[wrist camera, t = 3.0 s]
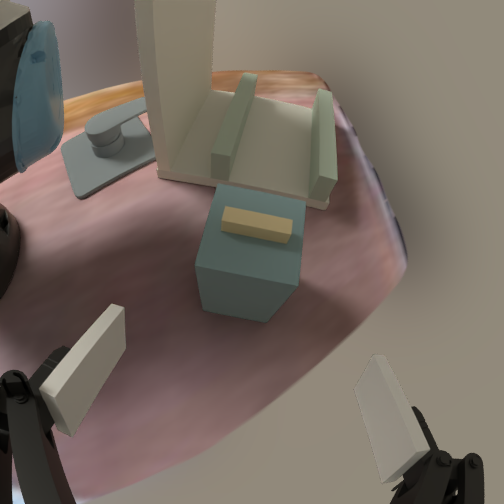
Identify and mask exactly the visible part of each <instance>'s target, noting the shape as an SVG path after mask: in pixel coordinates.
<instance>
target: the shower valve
mask: <svg viewBox="0 0 504 504" xmlns="http://www.w3.org/2000/svg"><path fill="white" fill-rule="evenodd" d="M145 112H147V108H146V101H145V97H142V98H139V99H136V100H133V101H130V102H127V103H125V104H122V105H119V106H117V107H114V108H112V109H109V110H106V111H104V112H101V113H99V114H97V115H95V116H94V117H92V118H91V119H90V120H89V121H88V122H87V123H86V125H85V132H83V133H81V134H79V135H77V136H76V137H74V138H72V139H70V140H68V141H67V142H65V143H64V144H63V145H62V146H61V152H62V156H63V159H64V163H65V166H66V169H67V173H68V176H69V179H70V182H71V185H72V188H73V191H74V194H75V196H76V197H77V198H78V199H83V198H85V197H87V196H88V195H90V194H92V193H94V192H95V191H97V190H99V189H100V188H102V187H104V186H106V185H108V184H109V183H111V182H113V181H115V180H117V179H118V178H120V177H122V176H124V175H126V174H128V173H130V172H132V171H134V170H136V169H137V168H139V167H141V166H143V165H145V164H147V163H149V162H152V161H154V160H156V157H155V152H154V146H153V141H152V136H151V135H150V133H149V132H148V131H147V129H146V128H145V127H144V125H143V124H142V122H141V121H140V120H139V118H138V117H137V116H139V115H141V114H143V113H145Z"/></svg>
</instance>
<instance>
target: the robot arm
mask: <svg viewBox="0 0 504 504" xmlns="http://www.w3.org/2000/svg"><path fill="white" fill-rule="evenodd" d="M63 129H64V105H63V90H62V78H61V67H60V58H59V50H58V42H57V38H56V36H55V28H54V25H53V24H52V23H51V22H50V21H44V22H42V21H39V22H37V23H36V24H34V25H33V23H32V18H31V13H30V9H29V7H27V6H23V5H20V4H16V3H13V2H10V0H0V183H2V182H3V181H5V180H7V179H8V178H10V177H11V176H13V175H15V174H16V173H18V172H20V173H23V172H24V171H26V169H27V167H29V166H30V165H32V164H33V163H35V162H37V161H38V160H40V159H42V158H44V157H45V156H47V155H49V154H50V153H52V152H53V151H54V150H55V149H56V148H57V146H58V145H59V143H60V141H61V138H62V135H63ZM19 248H20V232H19V227H18V223H17V221H16V219H15V218H14V216H13V215H12V214H11V213H10V212H9V211H8V210H7V208H6V207H4V206H3V205H2V204H0V298H1V297H2V295H3V294H4V292H5V291H6V289H7V287H8V285H9V283H10V281H11V278H12V276H13V273H14V270H15V267H16V264H17V260H18V255H19ZM125 350H126V336H125V307H122V306H118V305H115V304H111V305H110V306H109V307H108V308H107V309H106V310H105V311H104V312H103V313H102V315H101V316H100V317H99V318H98V319H97V320H96V321H95V322H94V323H93V325H92V326H91V327H90V328H89V329H88V330H87V331H86V332H85V334H84V335H83V336H82V337H81V338H80V339H79V340H78V342H77V343H76V344H75V345H74V346H73V347H72V349H70V348H67V347H65V346H62V347H60V348H58V349H56V350H54V351H53V353H52V354H51V355H50V356H49V357H48V359H46V360H45V362H44V363H43V365H41V366H40V367H39V369H38V370H37V371H36V372H35V373H34V374H33V376H32V377H31V378H30V379H29V380H28V379H27V376H26V375H25V374H24V373H23V372H21V371H19V370H10V371H7V372H6V373H4V374H3V375H2V376H1V378H0V386H1V387H0V504H13V501H12V453H13V458H14V463H15V468H16V472H17V477H18V481H19V485H20V488H21V492H22V496H23V499H24V502H25V504H76V502H75V500H74V497H73V495H72V492H71V490H70V487H69V484H68V482H67V479H66V476H65V473H64V470H63V467H62V464H61V461H60V458H59V454H58V451H57V447H56V444H55V440H54V436H53V432H52V430H51V427H52V426H53V424H54V423H55V425H56V427H57V429H58V430H59V431H61V432H63V433H65V434H67V435H69V436H71V437H73V436H74V435H75V433H76V431H77V429H78V427H79V426H80V424H81V422H82V420H83V419H84V417H85V415H86V413H87V412H88V410H89V408H90V407H91V405H92V403H93V401H94V400H95V398H96V396H97V395H98V393H99V391H100V390H101V388H102V386H103V385H104V383H105V382H106V380H107V378H108V377H109V375H110V373H111V372H112V370H113V369H114V367H115V365H116V364H117V362H118V361H119V359H120V357H121V356H122V354H123V353H124V351H125ZM354 392H355V395H356V398H357V402H358V405H359V408H360V411H361V414H362V417H363V420H364V424H365V427H366V430H367V434H368V436H369V440H370V443H371V447H372V450H373V454H374V457H375V461H376V464H377V468H378V472H379V475H380V479H381V483H388V482H393V481H396V480H397V479H398V478H399V477H401V476H402V475H403V478H404V480H403V481H402V482H400V483H399V484H398V485H397V486H395V487H394V488H393V489H392V490H391V491H394V490H396V489H397V488H398V489H397V491H396V493H395V495H394V497H393V499H392V501H391V502H390V504H484V470H483V462H482V459H481V457H480V456H479V455H477V454H475V453H469V454H467V455H466V456H465V457H464V458H463V459H453V458H452V457H451V456H450V454H449V453H447V452H446V451H442V450H439V449H438V447H437V445H436V442H435V440H434V438H433V436H432V434H431V432H430V430H429V428H428V425H427V423H426V422H425V419H424V417H423V415H422V413H421V412H420V411H419V410H418V409H417V408H416V407H415V406H414V407H411V406H410V404H409V402H408V400H407V398H406V396H405V394H404V391H403V389H402V388H401V385H400V384H399V382H398V380H397V378H396V376H395V374H394V372H393V370H392V368H391V366H390V364H389V362H388V361H387V358H386V356H385V355H379V354H373V355H372V357H371V359H370V361H369V363H368V365H367V367H366V368H365V370H364V372H363V374H362V376H361V377H360V379H359V381H358V383H357V384H356V386H355V388H354ZM456 490H458V494H457V495H455V491H456Z"/></svg>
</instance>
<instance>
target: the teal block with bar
mask: <svg viewBox="0 0 504 504" xmlns="http://www.w3.org/2000/svg"><path fill="white" fill-rule="evenodd" d="M305 209H306V201H301V200H297V199H293V198H288V197H284V196H279V195H274V194H270V193H265V192H260V191H255V190H250V189H245V188H240V187H235V186H230V185H225V184H219V183H218V184H217V188H216V191H215V194H214V198H213V201H212V204H211V208H210V211H209V215H208V218H207V222H206V225H205V229H204V232H203V236H202V239H201V243H200V247H199V250H198V254H197V258H196V261H195V265H194V266H195V271H196V277H197V282H198V288H199V293H200V298H201V303H202V308H203V311H208V312H212V313H217V314H222V315H227V316H232V317H237V318H242V319H248V320H253V321H259V322H264V323H267V322H268V321H269V320H270V318H271V317H272V316H273V315H274V314H275V313H276V312H277V310H278V309H279V308H280V307H281V306H282V305H283V304H284V302H285V301H286V300H287V299H288V298H289V297H290V295H291V294H292V293H293V292H294V291H295V290H296V288H297V287H298V286H299V277H300V267H301V257H302V246H303V234H304V222H305Z"/></svg>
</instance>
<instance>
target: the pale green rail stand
mask: <svg viewBox="0 0 504 504" xmlns="http://www.w3.org/2000/svg"><path fill="white" fill-rule="evenodd" d="M134 5H135V18H136V29H137V40H138V49H139V58H140V66H141V74H142V81H143V88H144V95H145V101H146V108H147V114H148V119H149V125H150V131H151V136H152V141H153V146H154V152H155V157H156V161H157V166H158V167H157V169H156V170H157V175H158V178H163V179H169V180H176V181H182V182H188V183H194V184H200V185H205V186H211V187H217V184H218V183H219V184H225V185H230V186H235V187H240V188H245V189H250V190H255V191H260V192H265V193H270V194H274V195H279V196H284V197H288V198H293V199H297V200H301V201H306V206H308V207H313V208H317V209H321V210H326V208H327V207H328V205H329V195H330V193H331V191H332V189H333V188H334V186H335V184H336V182H337V181H338V174H337V152H336V135H335V122H334V110H333V99H332V92H329V91H326V90H322V89H318V92H317V95H316V98H315V101H314V104H313V107H312V109H311V108H307V107H303V106H299V105H295V104H291V103H286V102H282V101H277V100H272V99H267V98H262V97H257V96H254V94H255V88H256V82H257V75H255V74H249V73H244V74H243V76H242V78H241V80H240V83H239V85H238V87H237V89H236V92H235V93H232V92H225V91H217V90H211V81H212V57H213V40H214V24H215V10H216V0H134Z"/></svg>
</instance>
